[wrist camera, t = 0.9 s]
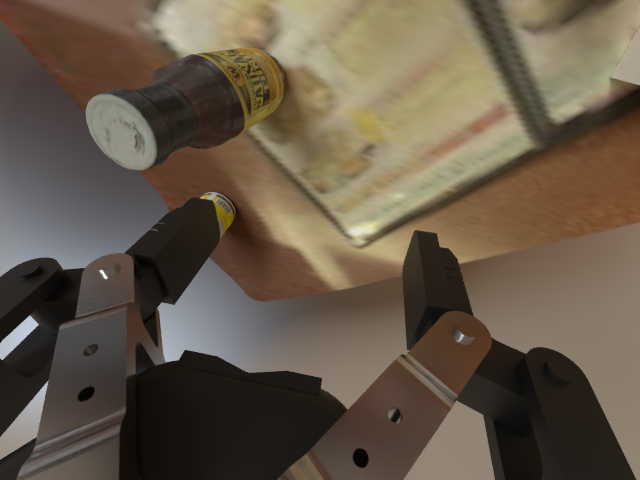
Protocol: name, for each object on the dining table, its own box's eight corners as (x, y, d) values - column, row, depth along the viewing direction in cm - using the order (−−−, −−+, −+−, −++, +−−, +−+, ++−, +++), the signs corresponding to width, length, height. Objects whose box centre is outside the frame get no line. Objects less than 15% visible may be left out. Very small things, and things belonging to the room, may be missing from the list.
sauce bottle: (300, 86, 30) (210, 158, 15) (261, 123, 33) (154, 214, 18) (256, 27, 28) (93, 38, 12) (219, 72, 31) (51, 128, 15)
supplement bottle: (201, 216, 44) (160, 260, 36) (200, 185, 40) (154, 226, 32) (236, 227, 44) (203, 274, 36) (238, 197, 40) (202, 241, 32)
